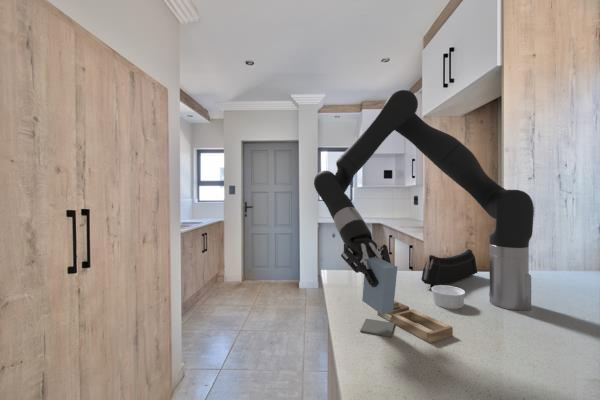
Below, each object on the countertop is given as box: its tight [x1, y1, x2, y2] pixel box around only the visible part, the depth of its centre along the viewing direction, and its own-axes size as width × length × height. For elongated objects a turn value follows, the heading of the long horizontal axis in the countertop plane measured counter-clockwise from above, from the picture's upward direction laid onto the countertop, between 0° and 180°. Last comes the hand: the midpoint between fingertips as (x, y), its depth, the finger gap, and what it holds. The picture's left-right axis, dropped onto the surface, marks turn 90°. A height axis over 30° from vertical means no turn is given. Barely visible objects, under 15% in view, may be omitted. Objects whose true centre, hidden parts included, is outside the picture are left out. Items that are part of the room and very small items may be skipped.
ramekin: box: [430, 284, 466, 310], centre depth 85 cm, size 9×9×4 cm
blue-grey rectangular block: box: [361, 257, 398, 314], centre depth 70 cm, size 7×4×11 cm, turn 26°
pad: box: [359, 318, 395, 338], centre depth 71 cm, size 7×7×1 cm
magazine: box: [421, 248, 478, 289], centre depth 107 cm, size 17×3×30 cm
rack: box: [377, 299, 454, 344], centre depth 72 cm, size 17×7×4 cm, turn 26°
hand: (382, 284), depth 69 cm, fingers closed on blue-grey rectangular block, 3 cm apart
